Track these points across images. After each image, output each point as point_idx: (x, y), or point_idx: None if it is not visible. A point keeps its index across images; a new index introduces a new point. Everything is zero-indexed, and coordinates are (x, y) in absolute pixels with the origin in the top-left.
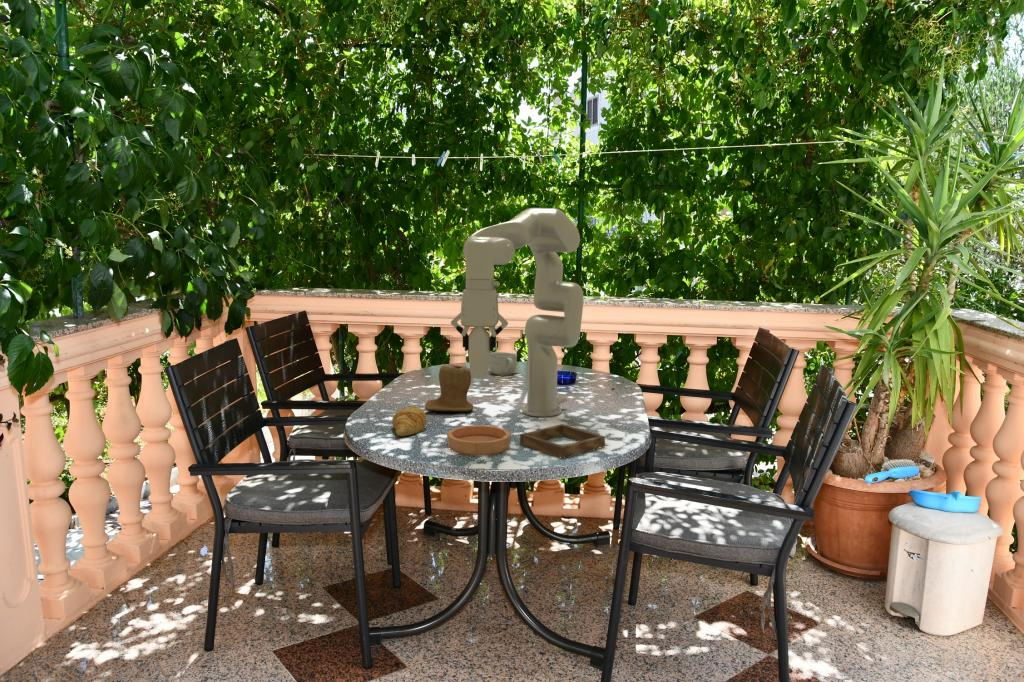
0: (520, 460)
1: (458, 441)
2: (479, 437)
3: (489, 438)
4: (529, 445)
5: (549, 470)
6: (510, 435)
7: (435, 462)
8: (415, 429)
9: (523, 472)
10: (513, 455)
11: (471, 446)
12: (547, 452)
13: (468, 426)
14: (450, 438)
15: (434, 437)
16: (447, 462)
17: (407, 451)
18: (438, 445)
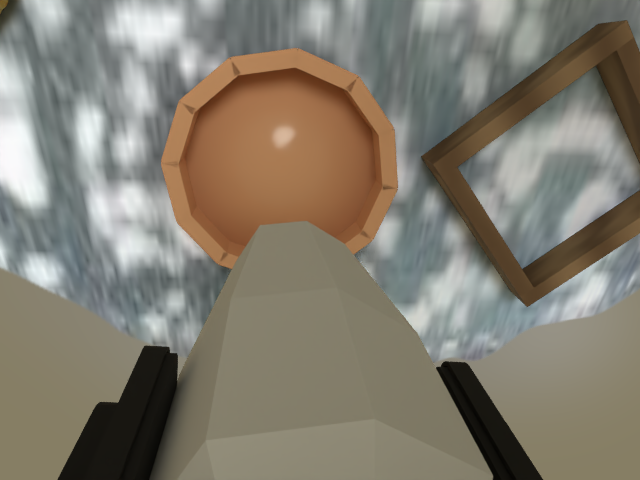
0: (396, 303)
1: (212, 257)
2: (286, 108)
3: (322, 122)
4: (446, 193)
5: None
6: (395, 191)
7: (155, 321)
8: (3, 3)
9: None
10: (383, 262)
11: None
12: (484, 251)
13: (241, 70)
14: (181, 225)
15: (107, 49)
16: (191, 321)
17: (42, 222)
18: (139, 157)
